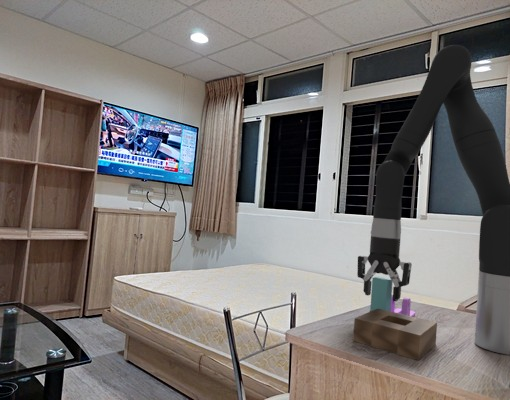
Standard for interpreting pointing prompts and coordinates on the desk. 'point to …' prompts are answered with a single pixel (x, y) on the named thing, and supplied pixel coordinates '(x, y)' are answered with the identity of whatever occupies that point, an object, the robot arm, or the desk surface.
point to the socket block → (395, 333)
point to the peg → (381, 293)
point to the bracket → (403, 307)
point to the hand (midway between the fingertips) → (381, 297)
